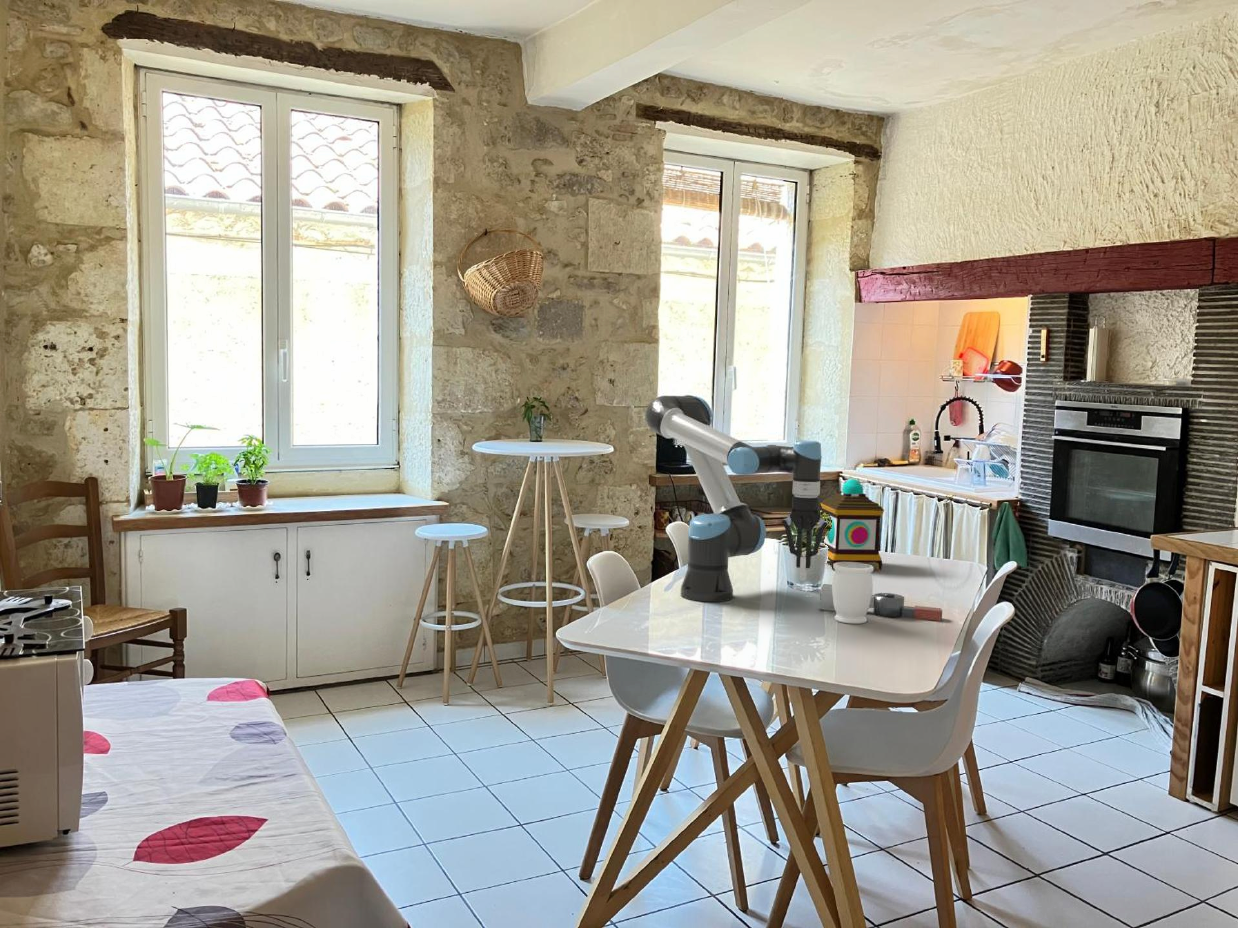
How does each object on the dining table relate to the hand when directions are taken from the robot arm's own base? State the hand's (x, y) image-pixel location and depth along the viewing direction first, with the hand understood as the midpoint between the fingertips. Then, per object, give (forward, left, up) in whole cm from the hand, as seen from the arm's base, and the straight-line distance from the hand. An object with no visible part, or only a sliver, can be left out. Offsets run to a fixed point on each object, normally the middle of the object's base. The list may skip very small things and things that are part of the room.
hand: (802, 579), depth 277 cm
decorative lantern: (+8, +66, -8) cm, 67 cm away
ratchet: (+27, 0, -8) cm, 28 cm away
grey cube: (+8, 0, -8) cm, 11 cm away
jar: (+14, -11, -8) cm, 20 cm away
